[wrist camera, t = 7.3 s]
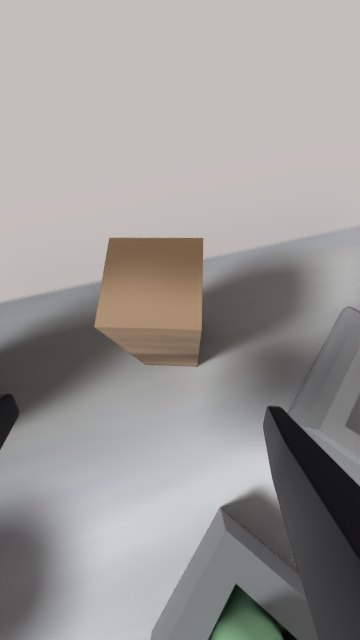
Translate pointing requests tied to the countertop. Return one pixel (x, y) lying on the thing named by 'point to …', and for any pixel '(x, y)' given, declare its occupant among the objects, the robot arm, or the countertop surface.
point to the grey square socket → (335, 396)
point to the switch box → (219, 580)
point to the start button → (244, 620)
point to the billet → (153, 298)
